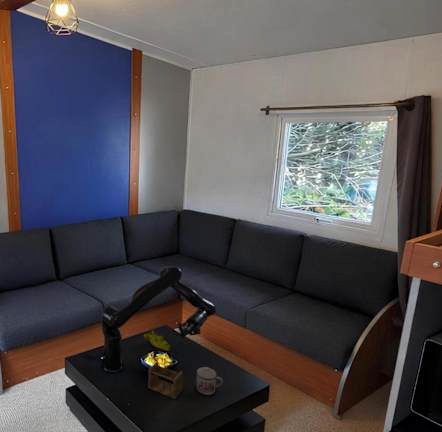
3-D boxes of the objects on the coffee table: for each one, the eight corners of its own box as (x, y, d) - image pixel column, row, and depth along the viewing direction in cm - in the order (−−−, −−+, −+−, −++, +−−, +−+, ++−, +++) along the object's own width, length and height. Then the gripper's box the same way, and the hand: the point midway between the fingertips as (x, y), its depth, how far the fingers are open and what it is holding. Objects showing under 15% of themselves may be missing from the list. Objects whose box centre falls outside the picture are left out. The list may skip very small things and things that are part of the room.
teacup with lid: (196, 394, 188) (197, 372, 186) (194, 382, 197) (196, 361, 194) (223, 397, 186) (225, 375, 183) (220, 385, 195) (222, 363, 192)
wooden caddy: (148, 387, 193) (148, 369, 191) (155, 379, 200) (156, 361, 197) (175, 399, 185) (175, 380, 183) (182, 390, 191) (183, 371, 189)
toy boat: (150, 338, 238) (150, 323, 236) (173, 352, 223) (174, 336, 221) (142, 342, 234) (142, 326, 232) (165, 356, 220) (165, 339, 218)
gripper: (183, 312, 218) (170, 324, 205) (207, 318, 210) (195, 332, 197) (183, 324, 220) (169, 337, 206) (206, 331, 212) (194, 346, 199)
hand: (182, 335), depth 202 cm, fingers closed
